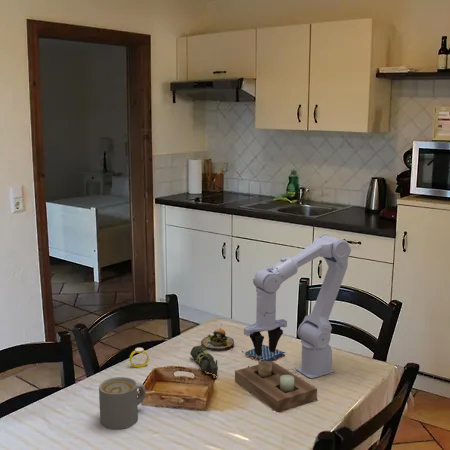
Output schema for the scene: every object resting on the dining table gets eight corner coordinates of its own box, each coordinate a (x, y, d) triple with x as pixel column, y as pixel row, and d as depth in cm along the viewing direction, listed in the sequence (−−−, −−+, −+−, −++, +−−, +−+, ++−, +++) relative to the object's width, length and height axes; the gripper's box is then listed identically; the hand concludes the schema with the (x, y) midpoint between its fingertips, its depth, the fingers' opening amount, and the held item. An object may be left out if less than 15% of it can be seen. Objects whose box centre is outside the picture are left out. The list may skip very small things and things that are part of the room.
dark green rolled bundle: (203, 356, 195) (222, 379, 178) (189, 358, 193) (207, 381, 176) (203, 339, 193) (222, 360, 177) (189, 341, 192) (207, 362, 175)
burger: (194, 345, 204) (194, 325, 203) (218, 337, 212) (218, 317, 211) (216, 355, 196) (216, 335, 194) (241, 346, 203) (241, 326, 202)
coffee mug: (109, 433, 147) (107, 397, 145) (94, 417, 155) (93, 382, 153) (155, 418, 154) (155, 384, 152) (139, 403, 162) (138, 370, 160)
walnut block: (271, 371, 183) (271, 360, 182) (316, 399, 165) (317, 388, 164) (234, 381, 176) (234, 370, 175) (277, 412, 158) (277, 400, 157)
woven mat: (262, 348, 202) (262, 343, 202) (286, 357, 195) (286, 351, 195) (242, 357, 195) (242, 351, 195) (266, 366, 188) (266, 360, 187)
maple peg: (266, 370, 177) (266, 359, 176) (274, 375, 173) (274, 364, 173) (255, 373, 175) (255, 362, 174) (263, 378, 171) (263, 367, 171)
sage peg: (288, 384, 167) (288, 373, 167) (296, 390, 164) (297, 378, 163) (277, 388, 165) (277, 376, 165) (285, 393, 162) (285, 382, 161)
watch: (130, 369, 184) (130, 351, 183) (129, 365, 187) (128, 348, 185) (149, 367, 186) (148, 349, 185) (147, 363, 188) (147, 346, 187)
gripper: (277, 302, 177) (276, 343, 180) (238, 310, 170) (237, 353, 172) (291, 309, 171) (290, 351, 174) (251, 317, 164) (250, 362, 166)
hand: (265, 353), depth 173 cm, fingers open, 4 cm apart
